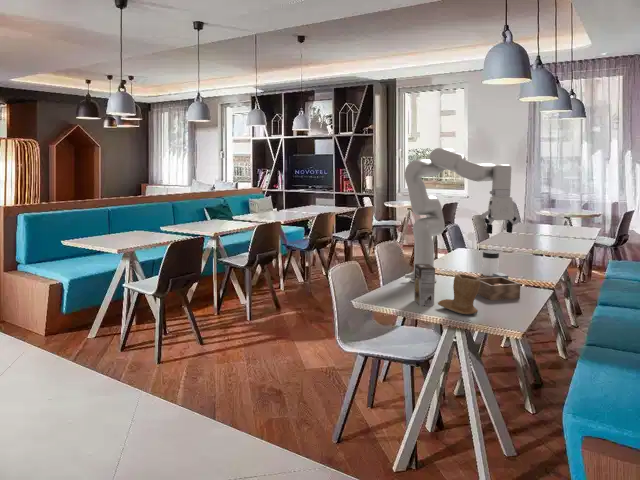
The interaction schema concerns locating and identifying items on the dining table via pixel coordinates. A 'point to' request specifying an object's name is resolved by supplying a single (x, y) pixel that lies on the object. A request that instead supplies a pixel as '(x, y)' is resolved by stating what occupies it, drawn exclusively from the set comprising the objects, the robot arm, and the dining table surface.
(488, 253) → the jar
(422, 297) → the coffee box
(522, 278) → the dining table surface
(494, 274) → the lid
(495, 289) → the box
